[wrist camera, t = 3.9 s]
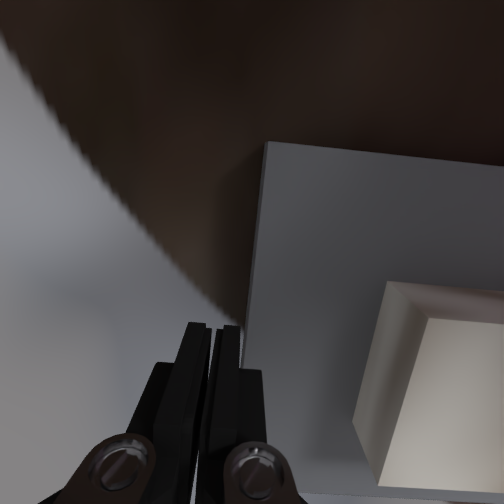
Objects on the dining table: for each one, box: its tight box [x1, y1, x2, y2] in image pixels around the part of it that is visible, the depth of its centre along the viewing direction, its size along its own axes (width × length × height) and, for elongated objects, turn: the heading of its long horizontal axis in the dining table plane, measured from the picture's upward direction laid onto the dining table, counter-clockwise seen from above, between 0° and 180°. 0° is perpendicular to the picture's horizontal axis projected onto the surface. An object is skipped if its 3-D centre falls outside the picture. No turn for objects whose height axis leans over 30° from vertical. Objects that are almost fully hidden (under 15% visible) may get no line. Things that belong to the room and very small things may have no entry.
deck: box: [240, 141, 504, 504], centre depth 12 cm, size 14×16×2 cm
